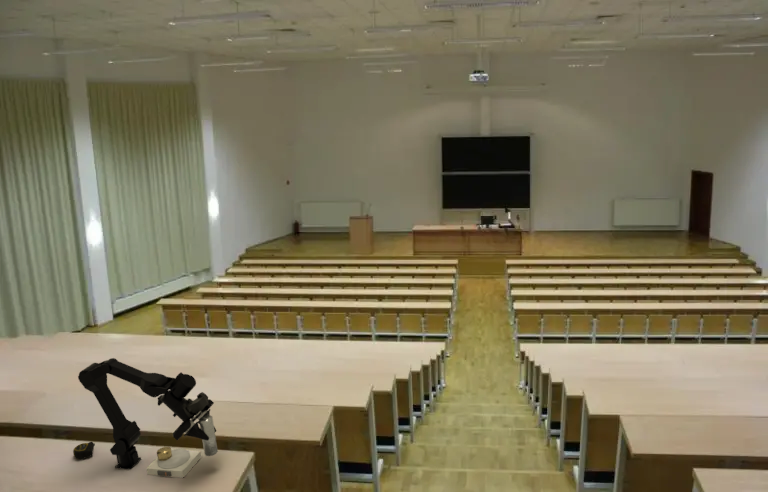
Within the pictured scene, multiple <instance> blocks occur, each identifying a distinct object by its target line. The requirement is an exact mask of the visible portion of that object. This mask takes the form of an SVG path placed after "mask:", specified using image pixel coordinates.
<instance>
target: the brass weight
mask: <svg viewBox="0 0 768 492" xmlns="http://www.w3.org/2000/svg"><path fill="white" fill-rule="evenodd" d="M171 449H172V448H171V447H169V446H164V447H160V448H159V449H157V451H156V455H157V457H158V460H159V461H165V460H168V459H170V458H171V457H172V452H171ZM157 457H156V458H157Z"/></svg>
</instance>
